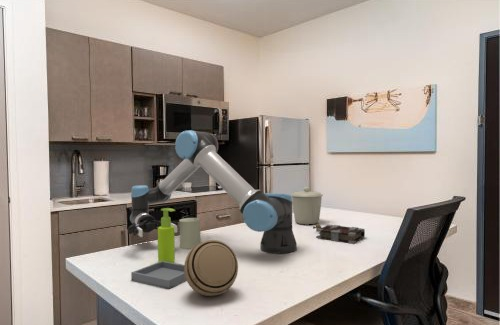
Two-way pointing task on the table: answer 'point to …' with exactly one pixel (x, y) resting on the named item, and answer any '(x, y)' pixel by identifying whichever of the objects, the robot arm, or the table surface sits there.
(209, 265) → the tan ball
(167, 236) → the soap dispenser
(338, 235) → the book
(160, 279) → the tray
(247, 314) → the table surface
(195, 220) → the can
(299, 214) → the canister
